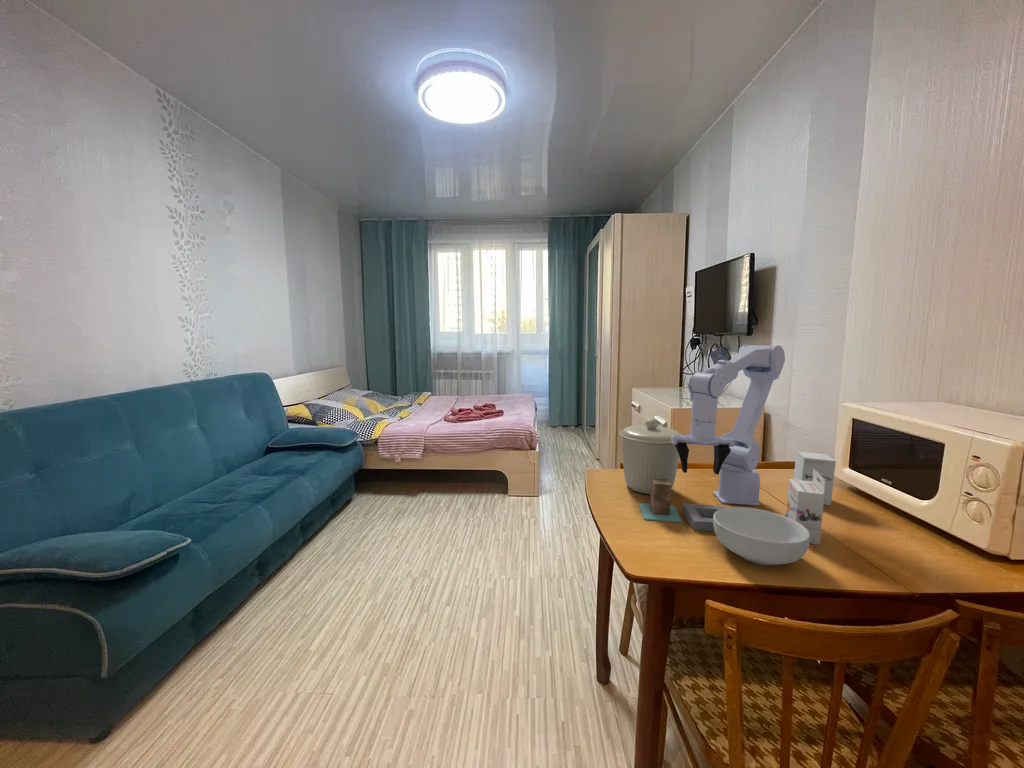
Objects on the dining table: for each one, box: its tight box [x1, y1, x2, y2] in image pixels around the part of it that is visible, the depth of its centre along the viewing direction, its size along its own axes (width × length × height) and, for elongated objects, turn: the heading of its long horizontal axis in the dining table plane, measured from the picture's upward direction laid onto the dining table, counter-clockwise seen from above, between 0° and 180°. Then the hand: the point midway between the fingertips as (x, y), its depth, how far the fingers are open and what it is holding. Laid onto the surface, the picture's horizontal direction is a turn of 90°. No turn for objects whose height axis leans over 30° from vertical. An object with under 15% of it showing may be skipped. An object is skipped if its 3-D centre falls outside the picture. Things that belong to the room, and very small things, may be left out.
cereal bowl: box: [712, 506, 811, 566], centre depth 83 cm, size 17×17×7 cm
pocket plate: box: [681, 503, 726, 533], centre depth 98 cm, size 10×10×2 cm
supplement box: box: [793, 450, 837, 506], centre depth 112 cm, size 7×7×13 cm
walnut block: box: [649, 478, 672, 516], centre depth 102 cm, size 4×4×8 cm
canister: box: [618, 418, 682, 495], centre depth 118 cm, size 18×18×21 cm
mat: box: [638, 502, 684, 524], centre depth 103 cm, size 9×9×1 cm
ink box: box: [785, 469, 826, 545], centre depth 91 cm, size 8×5×15 cm, turn 158°
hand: (700, 472), depth 103 cm, fingers open, 7 cm apart
